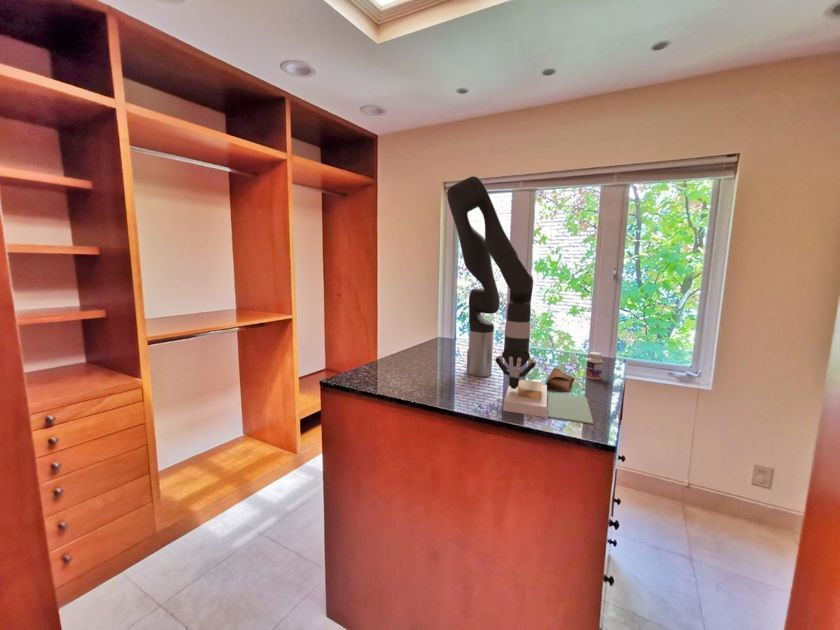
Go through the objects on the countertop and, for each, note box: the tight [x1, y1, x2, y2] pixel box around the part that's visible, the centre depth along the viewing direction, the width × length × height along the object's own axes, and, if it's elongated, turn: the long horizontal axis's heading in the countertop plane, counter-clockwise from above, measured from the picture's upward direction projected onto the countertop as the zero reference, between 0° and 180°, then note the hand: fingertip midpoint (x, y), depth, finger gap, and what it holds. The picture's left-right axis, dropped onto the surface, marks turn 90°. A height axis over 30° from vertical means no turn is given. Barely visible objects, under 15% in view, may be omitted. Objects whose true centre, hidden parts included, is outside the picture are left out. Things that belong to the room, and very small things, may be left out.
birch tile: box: [517, 379, 543, 400], centre depth 117 cm, size 7×9×2 cm
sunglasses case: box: [545, 367, 575, 394], centre depth 136 cm, size 18×7×7 cm, turn 154°
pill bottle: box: [585, 351, 604, 380], centre depth 142 cm, size 5×5×10 cm
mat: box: [547, 392, 594, 425], centre depth 114 cm, size 12×20×1 cm, turn 161°
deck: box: [502, 383, 548, 418], centre depth 118 cm, size 12×20×3 cm, turn 161°
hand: (513, 387), depth 118 cm, fingers closed
